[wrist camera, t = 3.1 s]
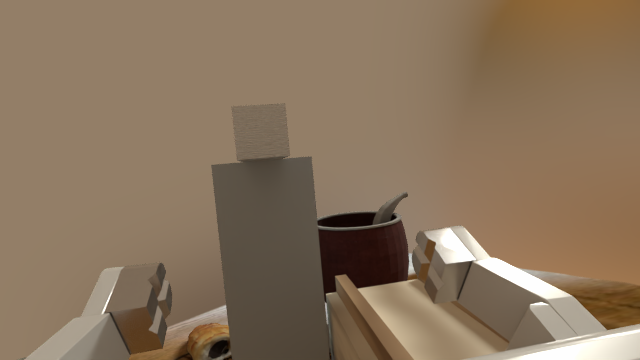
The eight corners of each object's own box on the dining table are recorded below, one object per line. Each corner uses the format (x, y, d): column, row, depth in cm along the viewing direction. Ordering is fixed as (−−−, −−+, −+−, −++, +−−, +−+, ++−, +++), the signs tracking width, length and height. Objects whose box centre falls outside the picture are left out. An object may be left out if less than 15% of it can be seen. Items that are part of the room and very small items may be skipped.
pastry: (179, 346, 50) (177, 321, 50) (223, 330, 54) (221, 307, 54) (197, 375, 43) (194, 346, 43) (246, 354, 47) (244, 327, 46)
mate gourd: (336, 377, 39) (321, 210, 38) (306, 325, 53) (294, 200, 52) (446, 345, 44) (435, 194, 43) (393, 305, 57) (384, 189, 56)
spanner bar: (274, 161, 39) (272, 135, 39) (289, 155, 19) (285, 103, 19) (248, 163, 39) (246, 137, 38) (237, 160, 19) (231, 106, 19)
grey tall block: (313, 362, 43) (294, 160, 41) (338, 454, 29) (311, 156, 28) (249, 374, 41) (228, 165, 40) (244, 477, 28) (211, 165, 26)
